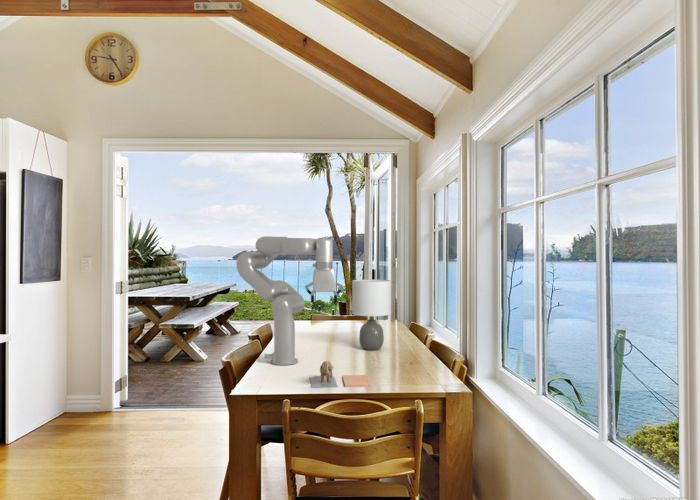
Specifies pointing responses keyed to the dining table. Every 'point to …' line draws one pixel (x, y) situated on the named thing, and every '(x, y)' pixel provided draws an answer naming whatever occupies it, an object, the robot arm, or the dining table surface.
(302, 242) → the robot arm
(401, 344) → the dining table surface
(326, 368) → the lion figurine
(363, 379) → the terracotta tile
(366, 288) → the lamp
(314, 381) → the slate tile
